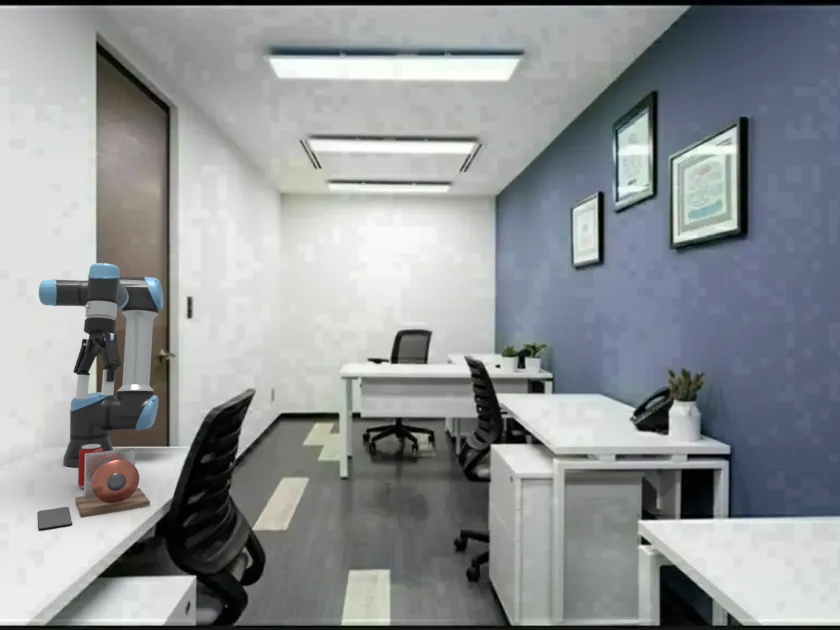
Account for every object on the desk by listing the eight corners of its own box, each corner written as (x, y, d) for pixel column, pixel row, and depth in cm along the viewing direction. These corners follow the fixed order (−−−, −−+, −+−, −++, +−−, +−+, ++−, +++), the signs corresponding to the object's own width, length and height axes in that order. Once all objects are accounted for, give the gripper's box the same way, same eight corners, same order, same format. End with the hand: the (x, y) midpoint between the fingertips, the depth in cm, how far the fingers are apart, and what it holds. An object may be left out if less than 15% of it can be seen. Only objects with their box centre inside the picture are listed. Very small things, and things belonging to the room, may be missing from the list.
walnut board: (75, 501, 157) (75, 497, 157) (139, 492, 166) (139, 487, 166) (80, 517, 145) (81, 512, 145) (149, 506, 155) (149, 501, 155)
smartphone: (68, 506, 152) (72, 523, 140) (68, 509, 152) (72, 527, 140) (37, 510, 148) (38, 528, 136) (37, 514, 148) (38, 532, 136)
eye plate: (83, 501, 157) (84, 453, 157) (132, 493, 164) (133, 448, 164) (85, 504, 155) (86, 455, 155) (134, 496, 162) (135, 450, 162)
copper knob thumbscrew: (85, 490, 160) (85, 451, 160) (128, 484, 166) (129, 446, 166) (92, 507, 147) (93, 464, 147) (139, 499, 153) (140, 458, 153)
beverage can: (91, 490, 166) (92, 449, 166) (72, 488, 168) (73, 447, 168) (107, 484, 173) (108, 444, 172) (89, 482, 174) (90, 442, 174)
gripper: (64, 323, 162) (56, 399, 158) (110, 309, 148) (103, 392, 144) (91, 327, 168) (85, 400, 164) (138, 314, 155) (133, 393, 150)
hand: (94, 397), depth 154 cm, fingers open, 13 cm apart
